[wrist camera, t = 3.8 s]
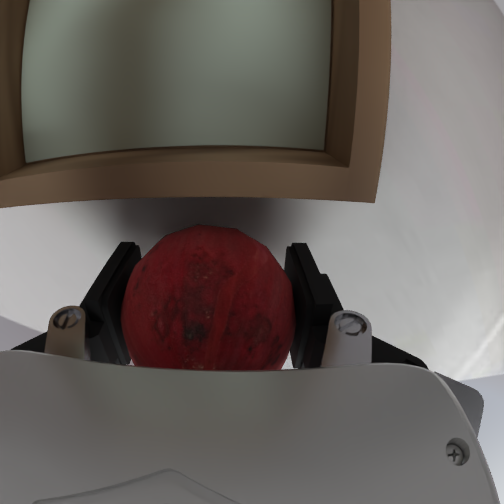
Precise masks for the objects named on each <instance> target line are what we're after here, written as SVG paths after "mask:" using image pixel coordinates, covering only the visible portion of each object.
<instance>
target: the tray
mask: <svg viewBox="0 0 504 504" xmlns="http://www.w3.org/2000/svg"><path fill="white" fill-rule="evenodd" d="M390 65H391V2H390V0H0V208H6V207H15V206H25V205H35V204H47V203H59V202H73V201H88V200H106V199H128V198H161V197H260V198H293V199H316V200H335V201H351V202H366V203H375V198H376V193H377V187H378V181H379V175H380V168H381V161H382V154H383V147H384V139H385V130H386V121H387V111H388V99H389V85H390Z"/></svg>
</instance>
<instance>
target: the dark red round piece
mask: <svg viewBox="0 0 504 504" xmlns="http://www.w3.org/2000/svg"><path fill="white" fill-rule="evenodd" d="M121 326H122V331H123V335H124V339H125V342H126V345H127V348H128V352H129V355H130V357H131V359H132V361H133V363H134V365H135V366H144V367H156V368H170V369H190V370H281V368H282V366H283V365H284V363H285V361H286V359H287V356H288V353H289V351H290V348H291V345H292V342H293V339H294V334H295V329H296V314H295V305H294V298H293V290H292V284H291V282H290V280H289V278H288V277H287V275H286V273H285V272H284V270H283V269H282V267H281V266H280V265H279V263H278V262H277V260H276V259H275V258H274V256H273V255H272V253H271V252H270V251H269V249H268V248H267V247H266V246H264V245H263V244H261V243H259V242H258V241H256V240H254V239H253V238H251V237H249V236H248V235H246V234H244V233H243V232H241V231H239V230H238V229H235V228H226V227H217V226H208V225H199V224H198V225H195V226H192V227H189V228H186V229H183V230H180V231H177V232H174V233H171V234H168V235H165V236H164V237H163V238H162V239H161V240H160V241H159V242H158V243H157V244H156V245H155V246H154V247H153V248H152V249H151V250H150V251H149V252H148V253H147V254H146V255H145V256H144V257H143V258H142V259H141V260H140V261H139V262H138V263H137V264H136V265H135V267H134V269H133V271H132V274H131V276H130V278H129V280H128V284H127V287H126V291H125V294H124V298H123V302H122V306H121Z"/></svg>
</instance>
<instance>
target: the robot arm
mask: <svg viewBox="0 0 504 504" xmlns="http://www.w3.org/2000/svg"><path fill="white" fill-rule="evenodd" d="M140 260H141V252H140V247H139V245H136V244H135V242H120V244H119V245H118V247H117V248H116V249H115V251H114V252H113V254H112V255H111V257H110V258H109V260H108V261H107V263H106V264H105V266H104V267H103V269H102V270H101V272H100V274H99V275H98V277H97V278H96V280H95V281H94V283H93V285H92V286H91V288H90V289H89V291H88V293H87V294H86V296H85V298H84V299H83V301H82V303H81V304H80V306H67V307H63V308H61V309H59V310H57V311H56V312H55V313H54V314H53V315H52V316H51V318H50V321H49V326H48V331H47V332H45V333H43V334H41V335H39V336H37V337H35V338H33V339H31V340H29V341H27V342H25V343H23V344H21V345H19V346H16V347H14V348H13V349H11V350H6V351H1V352H0V504H500V502H499V498H498V494H497V491H496V487H495V484H494V481H493V478H492V475H491V472H490V469H489V467H488V464H487V461H486V459H485V457H484V454H483V451H482V449H481V446H480V444H479V441H478V439H477V437H478V432H479V428H480V423H481V418H482V413H483V407H484V401H483V398H482V395H480V393H479V392H478V391H477V390H475V389H473V388H471V387H469V386H467V385H464V384H462V383H460V382H457V381H455V380H453V379H451V378H448V377H446V376H444V375H442V374H439V373H437V372H432V371H430V370H429V369H428V367H427V366H426V364H425V363H424V362H423V361H422V360H420V359H419V358H417V357H415V356H413V355H411V354H409V353H407V352H405V351H403V350H401V349H398V348H396V347H394V346H392V345H390V344H388V343H386V342H384V341H382V340H380V339H378V338H376V337H374V336H372V327H371V323H370V322H369V320H368V319H367V318H366V317H365V316H364V315H362V314H360V313H358V312H355V311H350V310H343V307H342V305H341V303H340V301H339V299H338V297H337V294H336V292H335V290H334V288H333V286H332V284H331V282H330V279H329V277H328V276H327V274H320V272H319V270H318V268H317V265H316V263H315V261H314V259H313V257H312V254H311V252H310V250H309V248H308V246H307V244H306V243H292V245H291V246H287V249H286V258H285V268H284V272H285V273H286V275H287V277H288V278H289V280H290V282H291V284H292V290H293V298H294V305H295V314H296V329H295V334H294V339H293V342H292V345H291V348H290V355H291V360H292V365H293V368H298V369H284V370H190V369H170V368H156V367H144V366H132V365H128V364H130V361H131V357H130V355H129V352H128V348H127V345H126V342H125V339H124V335H123V331H122V326H121V306H122V302H123V298H124V294H125V291H126V287H127V284H128V280H129V278H130V276H131V274H132V271H133V269H134V267H135V265H136V264H137V263H138V262H139V261H140ZM126 364H127V365H126Z"/></svg>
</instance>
